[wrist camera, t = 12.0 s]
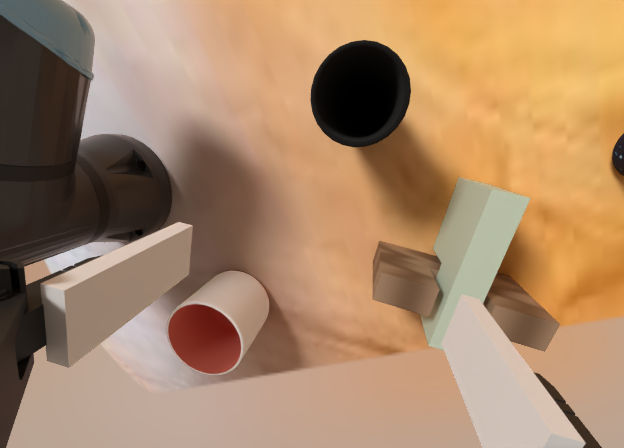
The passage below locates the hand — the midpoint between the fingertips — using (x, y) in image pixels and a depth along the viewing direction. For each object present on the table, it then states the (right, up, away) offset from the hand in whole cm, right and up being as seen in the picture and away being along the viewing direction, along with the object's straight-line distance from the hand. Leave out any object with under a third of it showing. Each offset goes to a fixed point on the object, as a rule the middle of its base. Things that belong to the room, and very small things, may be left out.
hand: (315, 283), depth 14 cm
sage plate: (+16, 0, +22) cm, 27 cm away
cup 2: (+6, +16, +20) cm, 26 cm away
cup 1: (-11, -8, +30) cm, 33 cm away
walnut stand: (+16, -3, +23) cm, 28 cm away
